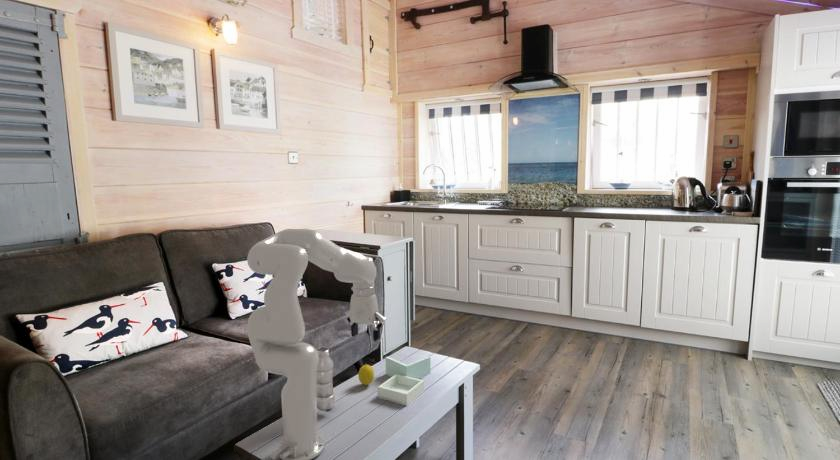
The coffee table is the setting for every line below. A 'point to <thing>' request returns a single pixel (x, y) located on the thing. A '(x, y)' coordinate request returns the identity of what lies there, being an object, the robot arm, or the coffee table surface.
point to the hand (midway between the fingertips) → (365, 337)
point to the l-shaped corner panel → (408, 368)
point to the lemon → (366, 374)
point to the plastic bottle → (324, 381)
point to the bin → (401, 389)
